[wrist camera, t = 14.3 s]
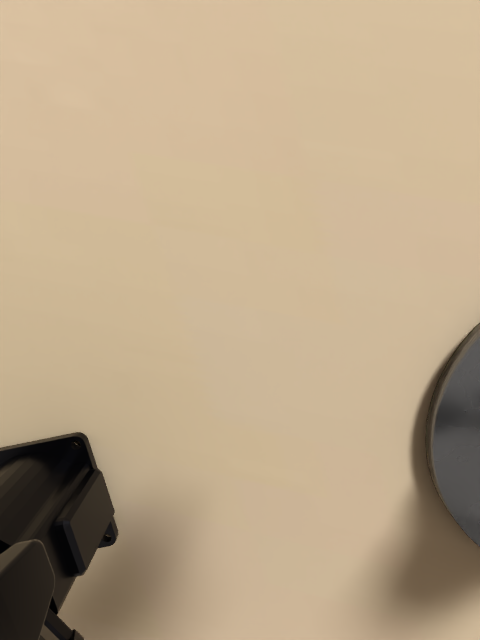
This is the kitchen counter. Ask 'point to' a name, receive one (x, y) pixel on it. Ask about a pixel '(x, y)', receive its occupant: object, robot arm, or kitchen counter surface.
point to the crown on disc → (458, 436)
